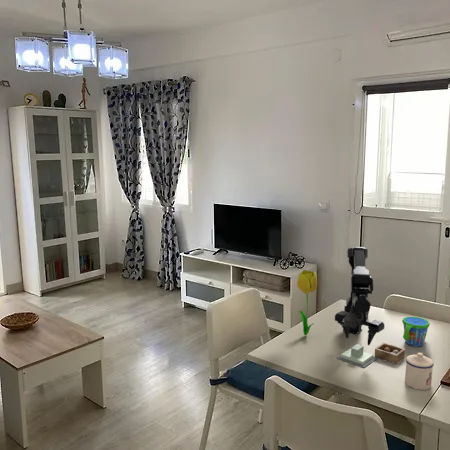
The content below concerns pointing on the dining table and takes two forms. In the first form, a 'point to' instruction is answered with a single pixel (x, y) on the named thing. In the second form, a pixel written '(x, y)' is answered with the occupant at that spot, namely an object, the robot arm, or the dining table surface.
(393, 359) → the crate
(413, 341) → the snack cup
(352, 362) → the mat
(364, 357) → the lid
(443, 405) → the dining table surface
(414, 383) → the teacup with lid
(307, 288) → the flower
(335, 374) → the dining table surface
